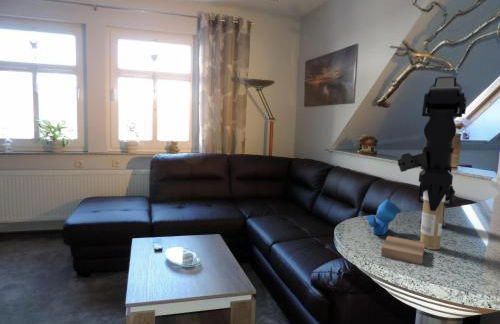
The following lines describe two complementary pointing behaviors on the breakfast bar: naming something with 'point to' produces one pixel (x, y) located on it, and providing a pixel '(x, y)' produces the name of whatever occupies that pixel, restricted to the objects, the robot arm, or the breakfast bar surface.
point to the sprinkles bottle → (431, 224)
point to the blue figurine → (383, 217)
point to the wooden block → (403, 249)
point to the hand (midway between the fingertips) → (433, 208)
